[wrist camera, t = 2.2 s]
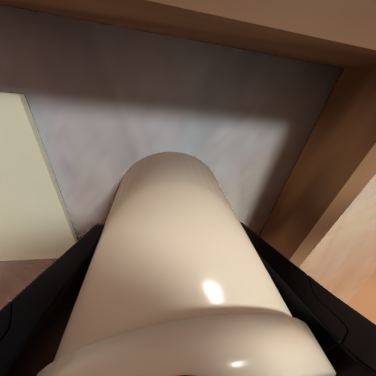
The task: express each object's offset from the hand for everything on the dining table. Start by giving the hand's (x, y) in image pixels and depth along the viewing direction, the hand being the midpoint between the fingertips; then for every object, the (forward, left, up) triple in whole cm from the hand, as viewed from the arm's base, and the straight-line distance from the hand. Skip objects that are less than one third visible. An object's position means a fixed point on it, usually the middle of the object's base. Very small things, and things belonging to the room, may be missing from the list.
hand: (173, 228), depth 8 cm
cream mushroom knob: (-1, 0, -2) cm, 3 cm away
